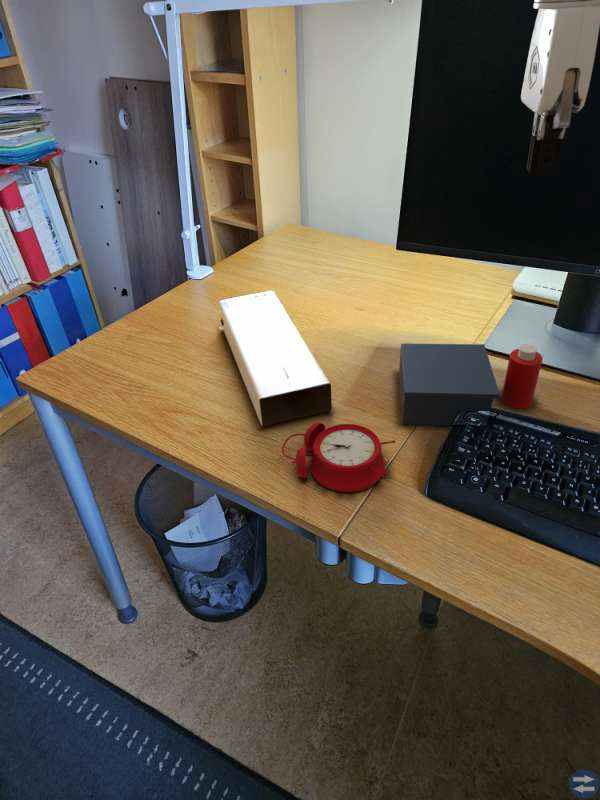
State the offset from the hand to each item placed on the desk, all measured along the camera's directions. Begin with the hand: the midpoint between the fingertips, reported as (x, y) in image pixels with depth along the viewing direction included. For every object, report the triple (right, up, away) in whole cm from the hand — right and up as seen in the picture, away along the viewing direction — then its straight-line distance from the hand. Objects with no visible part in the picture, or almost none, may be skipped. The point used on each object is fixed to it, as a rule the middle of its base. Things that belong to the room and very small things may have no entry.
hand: (540, 171), depth 69 cm
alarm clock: (-25, -38, +10) cm, 46 cm away
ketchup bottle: (+4, -28, +19) cm, 34 cm away
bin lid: (-7, -24, +17) cm, 30 cm away
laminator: (-36, -23, +30) cm, 52 cm away
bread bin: (-7, -28, +20) cm, 36 cm away
